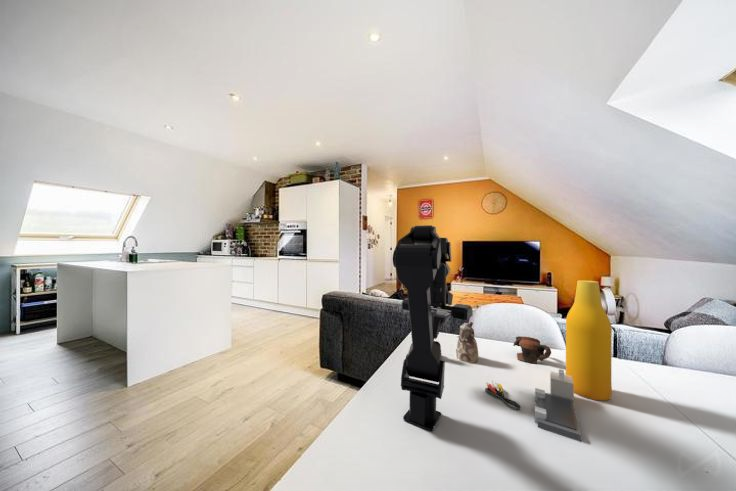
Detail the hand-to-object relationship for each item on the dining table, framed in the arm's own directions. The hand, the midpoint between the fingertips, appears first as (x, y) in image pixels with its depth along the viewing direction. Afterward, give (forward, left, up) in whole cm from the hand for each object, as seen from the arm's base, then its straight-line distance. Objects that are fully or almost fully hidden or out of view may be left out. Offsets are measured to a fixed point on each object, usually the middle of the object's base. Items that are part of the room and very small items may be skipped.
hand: (434, 338), depth 71 cm
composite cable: (+2, -16, -13) cm, 21 cm away
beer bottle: (+18, -35, -12) cm, 41 cm away
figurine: (+21, -4, -12) cm, 25 cm away
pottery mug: (+34, -22, -12) cm, 42 cm away
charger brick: (+11, -29, -12) cm, 33 cm away
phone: (+1, -27, -12) cm, 30 cm away
